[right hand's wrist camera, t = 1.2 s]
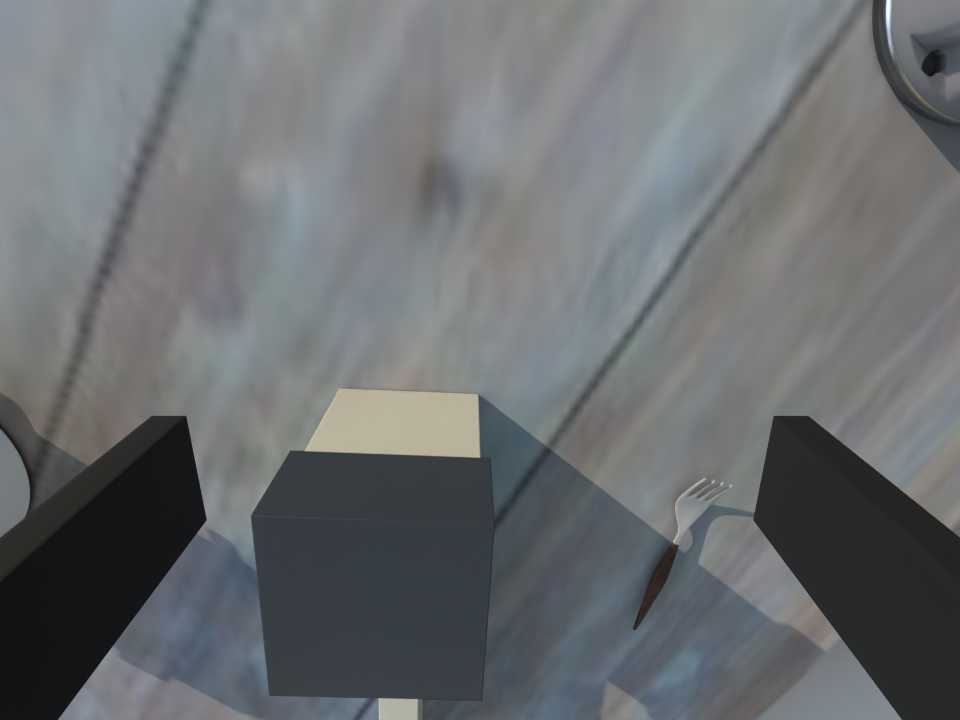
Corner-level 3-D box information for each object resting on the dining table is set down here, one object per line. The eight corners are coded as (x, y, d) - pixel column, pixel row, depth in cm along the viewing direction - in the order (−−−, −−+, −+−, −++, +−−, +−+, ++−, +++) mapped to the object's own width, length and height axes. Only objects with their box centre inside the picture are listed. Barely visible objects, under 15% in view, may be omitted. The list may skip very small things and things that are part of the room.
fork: (617, 621, 48) (623, 640, 46) (693, 463, 43) (703, 477, 41) (646, 628, 48) (653, 647, 47) (724, 471, 43) (735, 486, 41)
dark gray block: (490, 457, 31) (494, 524, 26) (480, 613, 35) (482, 701, 30) (290, 450, 31) (250, 515, 25) (301, 608, 35) (268, 696, 29)
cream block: (478, 393, 41) (480, 465, 32) (460, 730, 53) (457, 855, 43) (339, 388, 41) (299, 458, 31) (351, 727, 52) (325, 853, 43)
